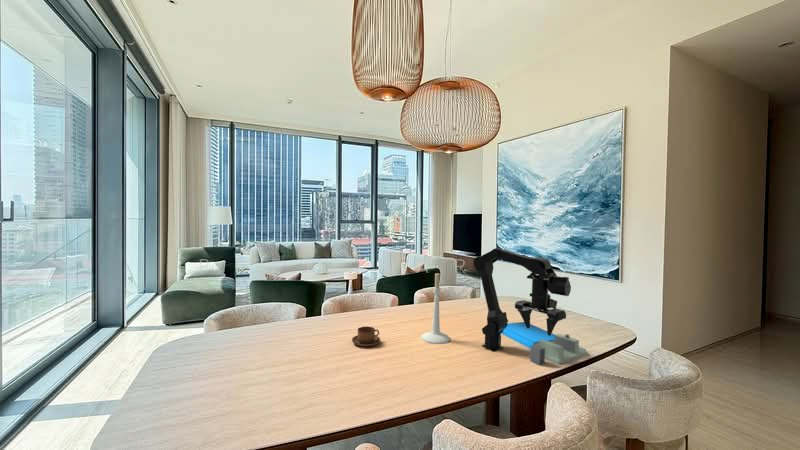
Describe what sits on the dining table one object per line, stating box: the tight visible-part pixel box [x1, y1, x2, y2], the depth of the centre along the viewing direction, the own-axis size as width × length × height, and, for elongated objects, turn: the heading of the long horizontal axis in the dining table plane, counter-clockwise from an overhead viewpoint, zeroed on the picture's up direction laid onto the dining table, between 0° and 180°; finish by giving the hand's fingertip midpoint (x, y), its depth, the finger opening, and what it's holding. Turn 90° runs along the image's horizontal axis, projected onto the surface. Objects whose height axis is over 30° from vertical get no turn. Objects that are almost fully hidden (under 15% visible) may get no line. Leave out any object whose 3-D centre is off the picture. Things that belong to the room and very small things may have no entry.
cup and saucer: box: [351, 326, 381, 347], centre depth 145 cm, size 12×12×6 cm
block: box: [529, 345, 546, 366], centre depth 130 cm, size 3×4×6 cm
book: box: [501, 321, 556, 350], centre depth 156 cm, size 17×4×25 cm
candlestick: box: [420, 272, 451, 345], centre depth 152 cm, size 13×13×30 cm
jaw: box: [555, 333, 580, 353], centre depth 140 cm, size 3×9×6 cm, turn 32°
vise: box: [539, 339, 589, 365], centre depth 138 cm, size 20×11×6 cm, turn 122°
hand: (538, 331), depth 129 cm, fingers open, 9 cm apart
